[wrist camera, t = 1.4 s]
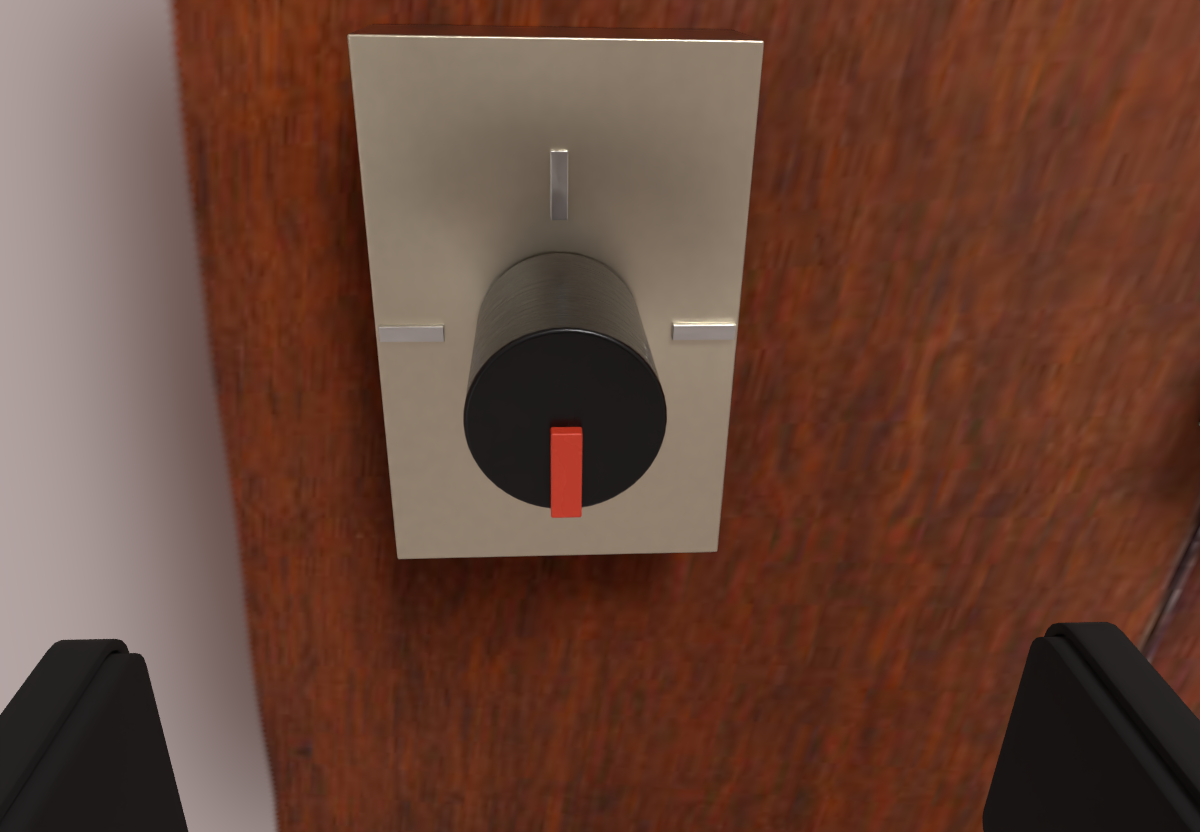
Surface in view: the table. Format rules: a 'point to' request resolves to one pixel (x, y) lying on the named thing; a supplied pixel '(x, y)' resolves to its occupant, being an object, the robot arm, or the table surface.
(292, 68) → the table surface
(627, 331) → the hob knob
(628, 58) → the panel
